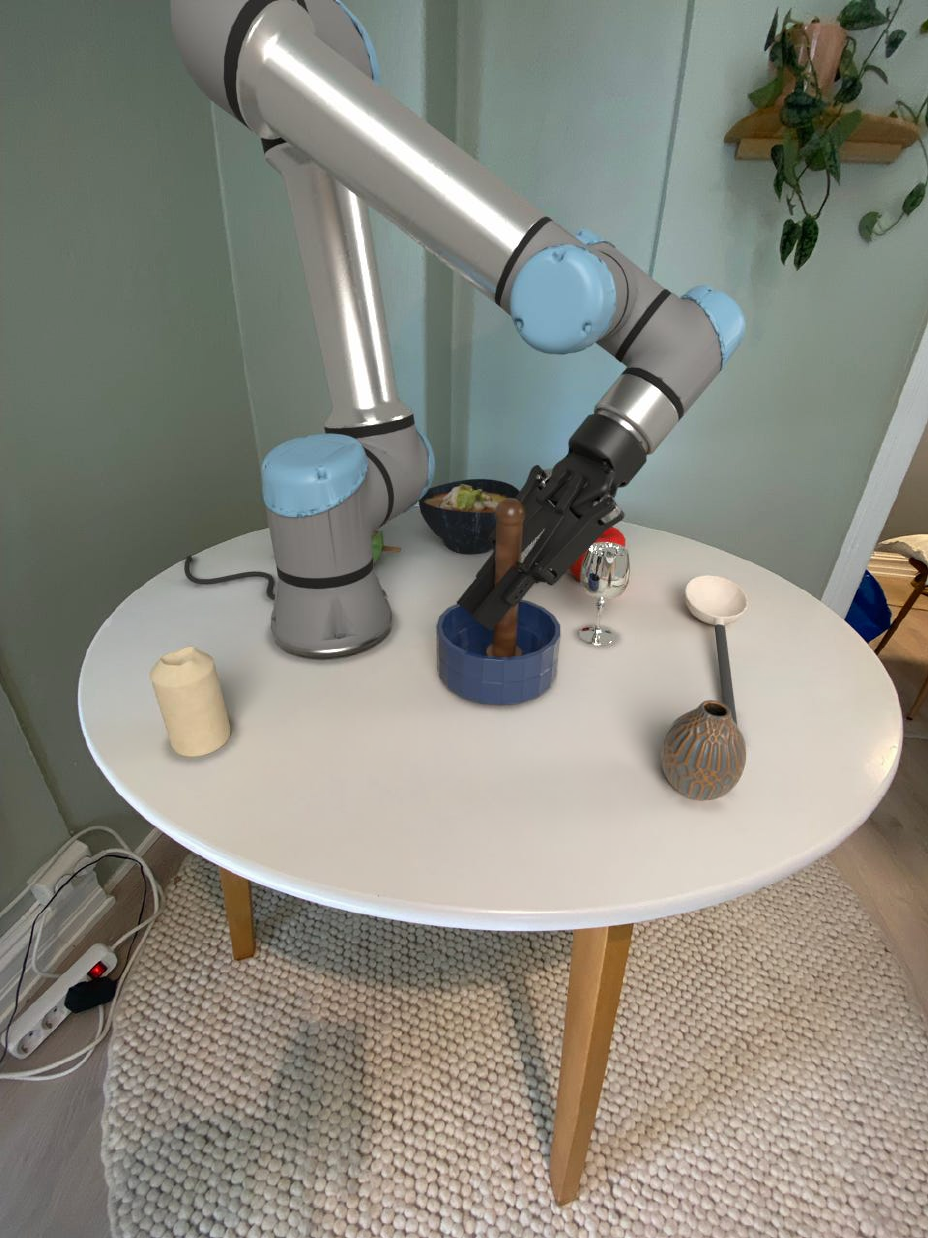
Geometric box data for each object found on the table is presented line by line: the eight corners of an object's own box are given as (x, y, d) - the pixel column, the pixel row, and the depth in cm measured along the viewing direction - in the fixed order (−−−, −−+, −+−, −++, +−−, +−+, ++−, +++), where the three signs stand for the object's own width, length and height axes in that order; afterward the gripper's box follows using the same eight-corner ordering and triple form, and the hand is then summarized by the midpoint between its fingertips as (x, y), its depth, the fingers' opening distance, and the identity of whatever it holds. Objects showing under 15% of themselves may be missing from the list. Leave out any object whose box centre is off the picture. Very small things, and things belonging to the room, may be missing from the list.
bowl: (537, 538, 104) (542, 482, 99) (488, 575, 91) (490, 513, 86) (455, 519, 112) (455, 466, 107) (399, 550, 99) (396, 492, 94)
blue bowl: (416, 689, 67) (414, 640, 63) (468, 632, 77) (468, 587, 74) (531, 724, 62) (536, 673, 58) (570, 658, 72) (575, 611, 69)
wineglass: (619, 650, 74) (634, 562, 68) (572, 645, 75) (582, 557, 69) (618, 626, 79) (632, 542, 72) (574, 622, 80) (584, 538, 73)
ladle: (737, 599, 84) (746, 573, 82) (760, 771, 61) (774, 743, 58) (679, 590, 86) (686, 565, 83) (680, 754, 63) (689, 726, 60)
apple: (621, 593, 87) (629, 543, 83) (560, 588, 88) (565, 539, 84) (617, 567, 94) (625, 520, 90) (561, 563, 95) (566, 516, 92)
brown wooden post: (479, 668, 66) (483, 502, 56) (494, 650, 69) (499, 490, 60) (513, 677, 65) (522, 508, 55) (526, 658, 68) (537, 495, 58)
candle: (212, 713, 63) (191, 632, 58) (242, 735, 60) (222, 652, 55) (161, 740, 59) (133, 656, 54) (190, 766, 56) (164, 679, 51)
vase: (682, 820, 51) (704, 742, 47) (641, 764, 57) (657, 690, 52) (751, 804, 53) (779, 727, 48) (704, 751, 58) (725, 678, 54)
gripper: (693, 478, 57) (535, 669, 58) (588, 441, 69) (460, 601, 70) (660, 426, 52) (490, 637, 53) (554, 396, 64) (417, 569, 65)
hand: (473, 616), depth 62 cm, fingers closed on brown wooden post, 3 cm apart
